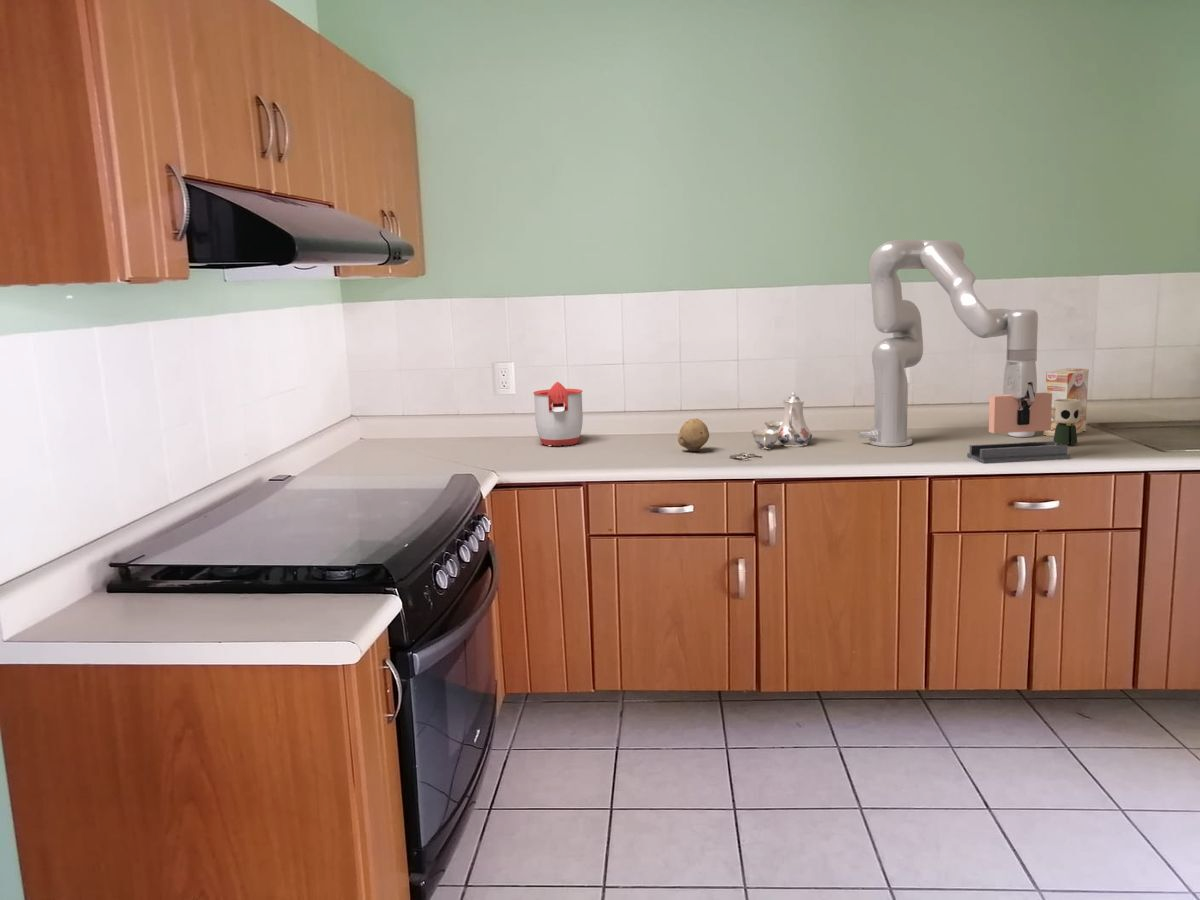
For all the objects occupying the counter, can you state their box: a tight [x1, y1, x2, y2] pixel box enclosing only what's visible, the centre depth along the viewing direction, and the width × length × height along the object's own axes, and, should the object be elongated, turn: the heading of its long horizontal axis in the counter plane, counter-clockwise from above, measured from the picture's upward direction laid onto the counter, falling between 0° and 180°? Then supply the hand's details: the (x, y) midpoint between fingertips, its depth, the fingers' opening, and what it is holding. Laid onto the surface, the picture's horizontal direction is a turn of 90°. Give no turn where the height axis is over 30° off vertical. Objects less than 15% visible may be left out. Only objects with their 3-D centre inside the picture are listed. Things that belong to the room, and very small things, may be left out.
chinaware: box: [751, 391, 813, 450], centre depth 313 cm, size 28×17×17 cm, turn 163°
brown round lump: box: [677, 418, 710, 453], centre depth 306 cm, size 9×9×10 cm
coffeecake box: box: [1042, 367, 1090, 437], centre depth 314 cm, size 15×7×20 cm, turn 132°
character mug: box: [1051, 399, 1087, 445], centre depth 296 cm, size 11×7×13 cm, turn 91°
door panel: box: [988, 392, 1052, 434], centre depth 278 cm, size 16×3×10 cm, turn 95°
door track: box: [966, 440, 1071, 464], centre depth 280 cm, size 24×10×4 cm, turn 95°
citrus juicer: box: [532, 381, 584, 447], centre depth 326 cm, size 16×17×20 cm
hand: (1019, 423), depth 279 cm, fingers closed on door panel, 3 cm apart
